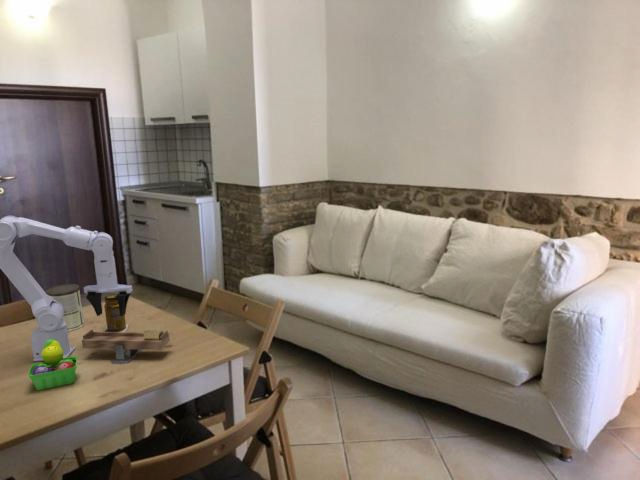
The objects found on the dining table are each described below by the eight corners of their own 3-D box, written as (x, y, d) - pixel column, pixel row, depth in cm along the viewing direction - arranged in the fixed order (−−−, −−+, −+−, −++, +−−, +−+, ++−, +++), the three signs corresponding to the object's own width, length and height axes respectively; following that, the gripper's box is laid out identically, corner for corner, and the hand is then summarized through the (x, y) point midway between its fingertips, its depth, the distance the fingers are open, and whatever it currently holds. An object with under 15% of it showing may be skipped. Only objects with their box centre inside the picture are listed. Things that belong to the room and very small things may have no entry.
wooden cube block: (144, 342, 147) (143, 330, 146) (150, 337, 151) (148, 324, 150) (159, 343, 147) (158, 330, 146) (164, 337, 151) (163, 325, 150)
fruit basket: (30, 394, 130) (23, 353, 127) (34, 379, 138) (28, 341, 135) (79, 384, 134) (73, 345, 132) (80, 370, 142) (74, 333, 140)
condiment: (129, 324, 176) (125, 291, 173) (125, 333, 168) (121, 299, 165) (107, 326, 175) (102, 293, 172) (102, 336, 166) (97, 301, 164)
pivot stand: (111, 363, 146) (109, 346, 145) (128, 348, 156) (126, 332, 155) (128, 363, 145) (126, 346, 144) (143, 348, 156) (141, 332, 154)
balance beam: (82, 350, 148) (80, 337, 147) (94, 341, 154) (93, 328, 154) (161, 352, 146) (160, 338, 145) (170, 342, 152) (168, 329, 151)
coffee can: (46, 328, 175) (40, 289, 172) (75, 319, 183) (69, 282, 180) (61, 334, 169) (55, 294, 166) (90, 324, 177) (85, 286, 174)
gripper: (76, 276, 150) (82, 319, 152) (122, 276, 148) (127, 319, 151) (88, 270, 156) (94, 311, 159) (133, 269, 155) (138, 311, 158)
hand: (111, 314), depth 156 cm, fingers open, 7 cm apart
